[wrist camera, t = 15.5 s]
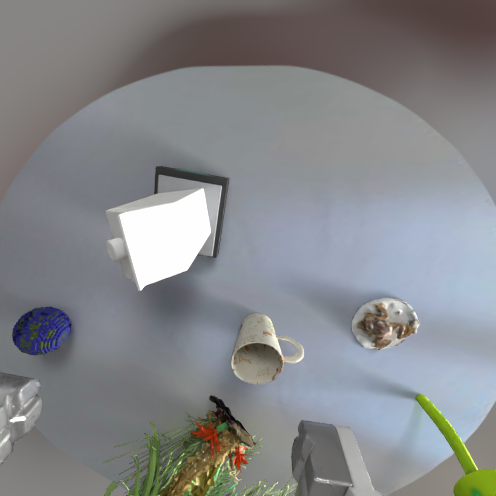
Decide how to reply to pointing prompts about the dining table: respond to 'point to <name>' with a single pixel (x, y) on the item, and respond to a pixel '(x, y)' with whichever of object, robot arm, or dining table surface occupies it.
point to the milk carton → (158, 234)
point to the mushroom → (462, 457)
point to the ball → (41, 331)
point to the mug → (260, 351)
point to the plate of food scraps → (384, 323)
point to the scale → (214, 197)
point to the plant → (198, 459)
